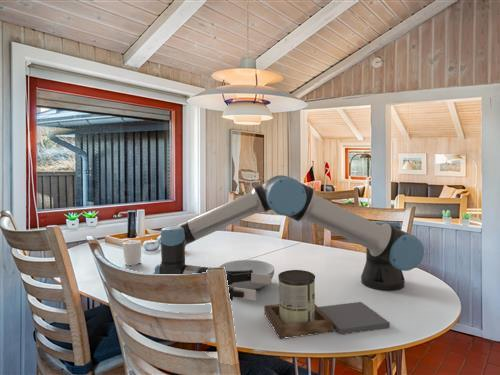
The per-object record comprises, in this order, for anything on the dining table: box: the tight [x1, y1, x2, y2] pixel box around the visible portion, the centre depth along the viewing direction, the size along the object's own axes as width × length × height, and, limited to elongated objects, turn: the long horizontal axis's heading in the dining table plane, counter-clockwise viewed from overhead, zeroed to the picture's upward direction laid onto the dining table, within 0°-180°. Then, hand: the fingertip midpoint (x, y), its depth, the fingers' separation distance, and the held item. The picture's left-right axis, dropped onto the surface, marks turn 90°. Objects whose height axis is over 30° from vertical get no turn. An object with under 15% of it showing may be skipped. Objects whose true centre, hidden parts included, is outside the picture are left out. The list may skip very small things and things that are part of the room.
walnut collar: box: [263, 303, 334, 339], centre depth 106 cm, size 15×15×3 cm
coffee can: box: [278, 269, 316, 325], centre depth 105 cm, size 10×10×14 cm
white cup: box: [122, 239, 142, 266], centre depth 167 cm, size 8×8×10 cm
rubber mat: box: [318, 301, 390, 335], centre depth 107 cm, size 15×15×2 cm
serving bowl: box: [218, 259, 275, 290], centre depth 136 cm, size 21×21×7 cm
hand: (264, 287), depth 108 cm, fingers open, 13 cm apart
